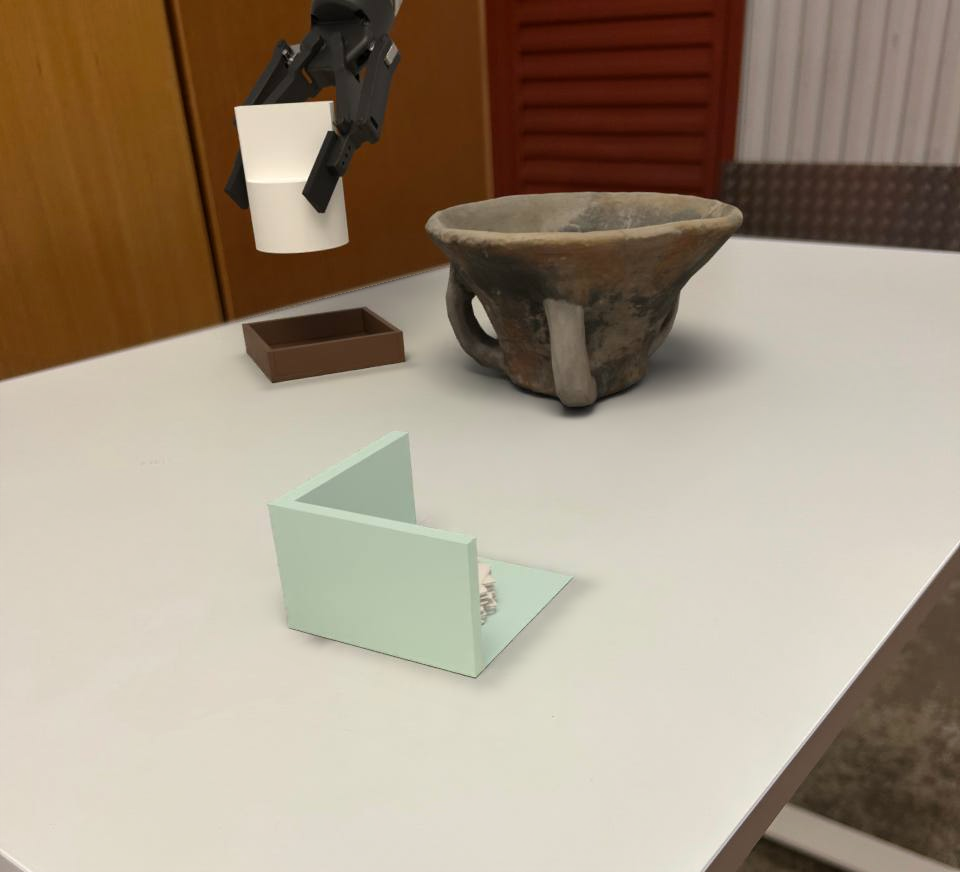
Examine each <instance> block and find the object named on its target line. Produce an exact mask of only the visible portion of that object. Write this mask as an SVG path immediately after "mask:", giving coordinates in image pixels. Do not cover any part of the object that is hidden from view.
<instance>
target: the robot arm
mask: <svg viewBox="0 0 960 872" xmlns="http://www.w3.org/2000/svg"><path fill="white" fill-rule="evenodd" d="M403 1H404V0H312V1H311V3H310V7H309V8H310V10H309V11H310V12H309V13H310V28H309V30H308V32H307V33H306V34H305V35H304V37H302V39H301V41H300V43H297V44H289V43H288V42H287V40H286V38H281V39H279V40H278V41H277V42H276V43H275V46H274V49H273V52H272V55H271V59H270V60H269V62H268V63H267V64H266V67H265V68H264V70H263V71H262V73H261V74H260V76H259V78H258V79H257V81H256V83H255V84H254V86H253V87H252V89H251V90H250V92H249V94H248V95H247V97H246V98H245V100H244V101H243V104H242V105H241V106H252V105H269V104H287V103H304V102H307V100H309V98H310V99H315V98H316V97H318V95H319V94H320V93H321V92H322V90H323V89H325V88H329V87H334V88H335V106H336V107H335V109H336V111H335V114H336V121H335V122H336V124H335V123H334V122H333V125H334V126H335V127H336V129H337V132H338V133H337V134H336V132H335V131H328V132H327V134H326V136H325V139H324V141H323V144H322V146H321V148H320V151H319V153H318V156H317V158H316V160H315V163H314V165H313V167H312V170H311V172H310V175H309V177H308V179H307V182H306V184H305V187H304V189H303V191H302V195H303V196H304V197H305V198H306V199H307V200H308V202H309V203H310V204H311V205H312V206H313V207H314V209H315V210H316V211H317V212H318V213H325V211H326V209H327V206H328V204H329V201H330V199H331V197H332V194H333V192H334V189H335V187H336V185H337V182H338V180H339V177H342V178H343V177H344V175H345V174H346V173H347V171H348V168H349V166H350V163H351V160H352V159H353V156H354V154H355V152H356V151H357V150H358V149H360V148H361V147H362V145H363V144H364V143H367V142H368V143H369V144H370V145H375V144H377V143H378V142H379V141H380V140H381V136H382V131H383V126H384V122H385V121H384V120H385V115H386V111H387V105H388V100H389V96H390V92H391V91H390V90H391V86H392V80H393V75H394V73H395V71H396V70H397V68H398V66H399V64H400V62H401V60H402V54H401V52H400V51H399V49H398V47H397V46H396V44H395V42H394V41H393V40H392V37H391V36H390V34H391V31H392V28H393V26H394V24H395V19H396V16H397V15H398V13H399V11H400V8H401V6H402V3H403ZM364 69H365V73H364ZM303 70H304V72H305V74H306V75H307V76H308V78H309V80H310V81H311V82H309V80H308V78H307V77H306V76H305V75H304V73H303ZM363 74H364V77H363ZM232 125H233V126H234V128H236V130H237V131H238V129H237V122H236V116H234V118H233V120H232ZM233 160H234V161H233V165H234V166H233V168H232V170H231V173H230V175H229V177H228V180H227V182H226V184H225V187H224V189H223V192H225V193H226V195H227V196H228V197H229V198H230V199H231V200H232V201H233V202H234V203H235V204H236V205H237V206H238V208H240V210H248V209H249V208H250V205H249V199H248V192H247V186H246V180H245V173H244V167H243V160H242V154H241V148H240V147H239V148H238V151H237V153H236V155H235V157H234V159H233Z"/></svg>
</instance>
